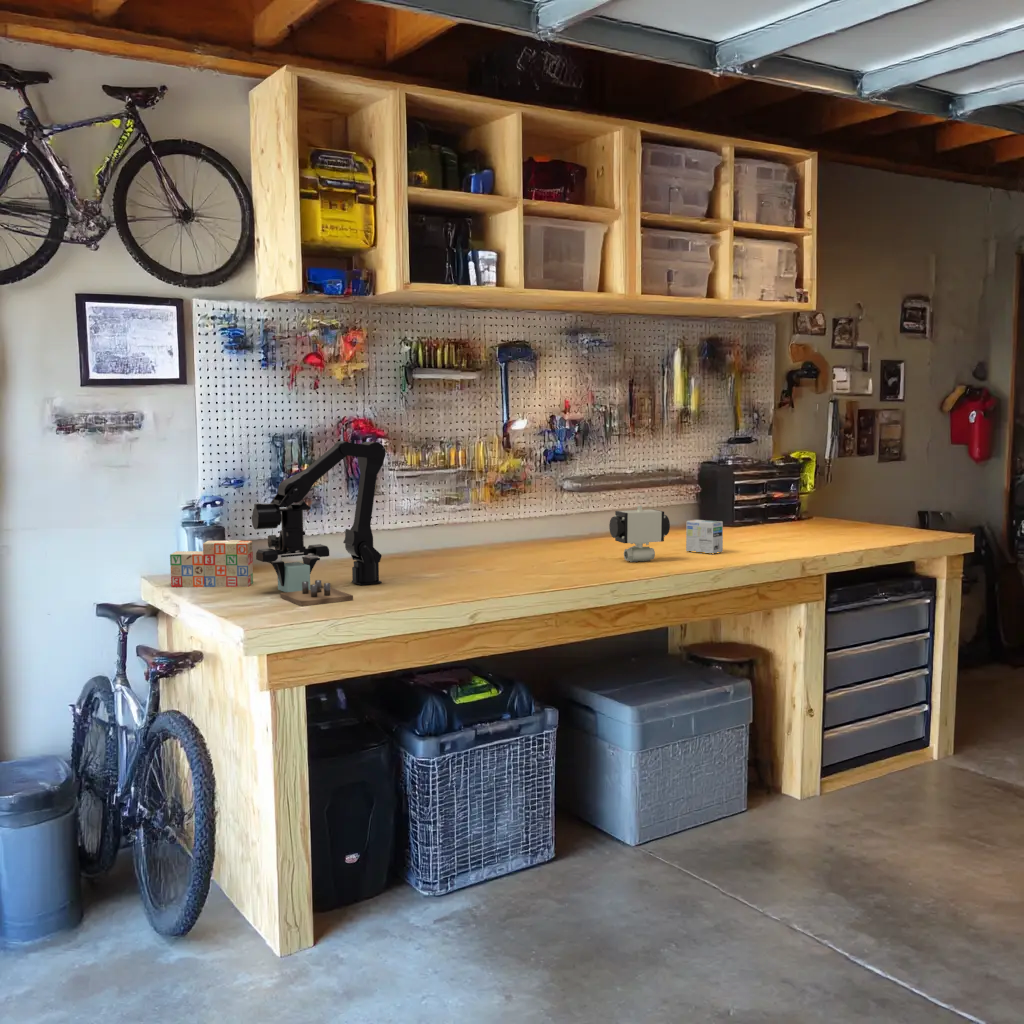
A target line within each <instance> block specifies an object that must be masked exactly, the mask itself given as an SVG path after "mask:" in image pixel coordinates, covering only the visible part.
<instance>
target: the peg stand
mask: <svg viewBox="0 0 1024 1024" xmlns="http://www.w3.org/2000/svg"><path fill="white" fill-rule="evenodd" d="M279 594H280V595H279V597H280V599H282V600H285V601H287V602H290V603H292V604H294V605H297V606H300V607H306V606H315V605H323V604H333V603H340V602H349V601H354V595H353V594H350V593H348V592H344V591H342V590H339V589H336V588H334V587H331V583H330V582H324V583H323V587H322V580H321V579H315V580H314V583H313V584H310V590H309V587H308V581H304V582H302V591H295V592H280V593H279Z"/></svg>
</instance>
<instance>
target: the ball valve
mask: <svg viewBox="0 0 1024 1024" xmlns="http://www.w3.org/2000/svg"><path fill="white" fill-rule="evenodd" d="M614 511H615V512H614V513H615V515H614V516H612V517H610V521H609V524H608V525H609V526H608V527H609V532H610V535H611V537H612V538H613V539H615V540H614V541H616V542H618V543H622V544H631V545H633V544H634V545H633V546H630V547H628V548H625V549H624V551H623V558H624V560H625V561H628V562H629V561H630V562H629V563H635V562H636V563H637V562H638V561H640V562H650V561H651V560H654V559H655V556H656V552H655V549H654V548H653V547H650V546H648V545H649V544H650V543H658V542H659V543H660V542H665V537H666V536H668V535H669V532H670V530H671V529H670V528H671V526H670V525H671V523H670V519H669V516H668V515H666V514H665V511H662V510H657V509H643V506H642V505H637V509H634V510H633V509H631V510H630V509H629V510H614ZM644 544H645V545H646V546H644ZM638 563H639V562H638Z"/></svg>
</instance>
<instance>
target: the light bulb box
mask: <svg viewBox="0 0 1024 1024" xmlns="http://www.w3.org/2000/svg"><path fill="white" fill-rule="evenodd" d="M723 524H724V522H723V521H722V520H720V521H719V520H718V521H717V520H707V519H705V520H704V519H691V520H686V525H685V529H686V531H685V535H686V536H685V537H686V539H685V542H686V543H685V552H686V551H696V552H705V553H717V552H722V551H723V552H724V550H723V549H724V548H723V547H724V545H723V544H724V543H723V542H724V540H723V539H724V538H723V537H724V534H723V533H724V531H723V530H724V528H723V527H724V525H723ZM723 552H722V553H723Z"/></svg>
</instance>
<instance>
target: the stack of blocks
mask: <svg viewBox="0 0 1024 1024" xmlns="http://www.w3.org/2000/svg"><path fill="white" fill-rule="evenodd" d="M253 554H254V552H253V540H241V539H238V540H237V539H230V540H207V541H205V542H203V543H202V551H199V550H197V551H196V550H192V551H190V550H188V551H185V550H183V551H182V550H181V551H180V550H179V551H175V552H172V553H171V554H169V559H170V560H169V561H170V562H169V563H170V584H171V588H178V587H179V588H220V587H221V588H223V587H224V588H225V587H226V588H229V587H231V588H232V587H236V588H237V587H238V588H239V587H240V588H242V587H243V588H244V587H250V586H251V585H252V584H253V583H254V569H253V566H254V565H253V564H254V563H253V562H254V560H253V559H254V557H253Z"/></svg>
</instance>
